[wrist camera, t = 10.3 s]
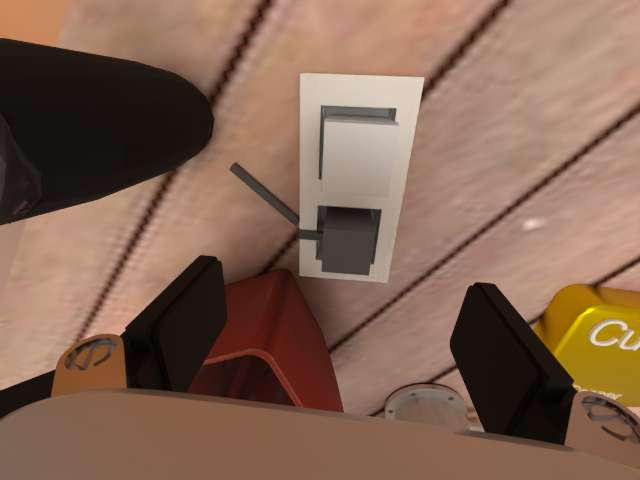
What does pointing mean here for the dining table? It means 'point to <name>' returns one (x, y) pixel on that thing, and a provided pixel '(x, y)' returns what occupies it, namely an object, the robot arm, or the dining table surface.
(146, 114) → the portable speaker
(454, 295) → the dining table surface
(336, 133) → the plug
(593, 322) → the element tile
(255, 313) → the plant pot
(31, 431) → the robot arm
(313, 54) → the dining table surface
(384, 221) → the power strip
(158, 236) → the dining table surface
